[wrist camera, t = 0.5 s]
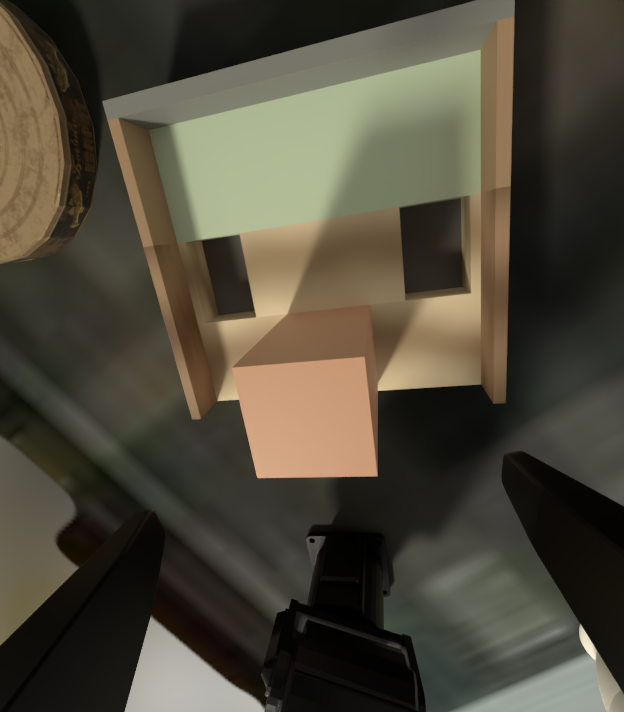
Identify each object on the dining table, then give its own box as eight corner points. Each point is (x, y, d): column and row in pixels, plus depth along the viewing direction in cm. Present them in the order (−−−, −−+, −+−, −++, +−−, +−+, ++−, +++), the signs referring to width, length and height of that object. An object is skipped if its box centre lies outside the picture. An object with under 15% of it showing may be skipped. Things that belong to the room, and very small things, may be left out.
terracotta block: (377, 383, 23) (377, 476, 14) (300, 388, 24) (257, 478, 15) (370, 304, 21) (364, 356, 13) (287, 313, 22) (231, 367, 14)
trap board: (480, 368, 24) (505, 403, 19) (223, 386, 27) (192, 419, 23) (480, 195, 20) (510, 186, 16) (188, 243, 24) (143, 247, 20)
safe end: (480, 195, 20) (510, 186, 16) (188, 243, 24) (143, 247, 20) (480, 49, 18) (515, -11, 14) (160, 127, 22) (102, 101, 17)
